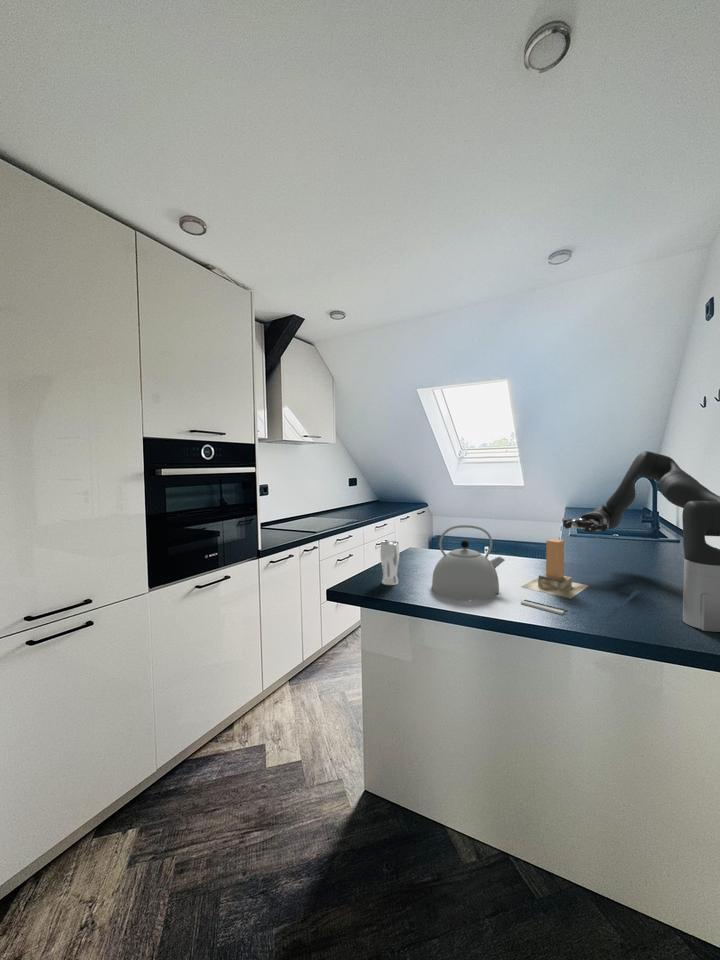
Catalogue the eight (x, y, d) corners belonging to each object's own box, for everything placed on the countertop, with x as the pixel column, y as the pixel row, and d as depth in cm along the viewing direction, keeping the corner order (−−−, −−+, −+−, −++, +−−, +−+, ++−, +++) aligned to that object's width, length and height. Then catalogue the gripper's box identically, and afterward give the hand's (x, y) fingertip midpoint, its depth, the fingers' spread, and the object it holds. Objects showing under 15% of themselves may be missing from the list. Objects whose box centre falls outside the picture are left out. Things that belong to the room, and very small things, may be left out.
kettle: (496, 580, 144) (497, 520, 143) (514, 601, 122) (515, 531, 121) (429, 578, 147) (429, 520, 146) (434, 599, 124) (434, 530, 123)
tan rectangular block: (563, 585, 133) (564, 540, 132) (558, 589, 130) (558, 542, 129) (551, 583, 136) (552, 538, 135) (546, 586, 133) (546, 540, 132)
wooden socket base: (589, 588, 133) (589, 574, 133) (570, 601, 121) (570, 586, 121) (541, 578, 145) (541, 566, 145) (520, 589, 133) (520, 576, 132)
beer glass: (380, 580, 145) (380, 540, 145) (398, 580, 145) (398, 540, 145) (380, 585, 139) (380, 544, 138) (400, 585, 138) (399, 544, 138)
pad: (576, 603, 119) (576, 602, 119) (562, 614, 111) (562, 612, 111) (537, 594, 128) (537, 592, 127) (520, 603, 119) (520, 601, 119)
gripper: (573, 510, 156) (558, 515, 145) (614, 513, 145) (601, 518, 134) (573, 529, 156) (558, 534, 145) (614, 533, 146) (601, 540, 135)
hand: (578, 527), depth 140 cm, fingers open, 8 cm apart
